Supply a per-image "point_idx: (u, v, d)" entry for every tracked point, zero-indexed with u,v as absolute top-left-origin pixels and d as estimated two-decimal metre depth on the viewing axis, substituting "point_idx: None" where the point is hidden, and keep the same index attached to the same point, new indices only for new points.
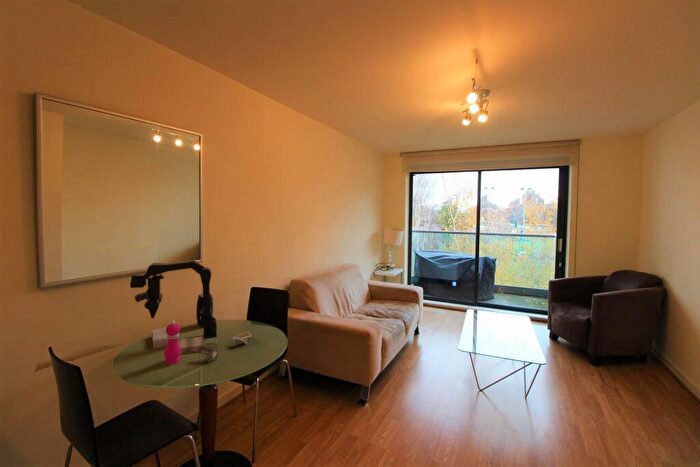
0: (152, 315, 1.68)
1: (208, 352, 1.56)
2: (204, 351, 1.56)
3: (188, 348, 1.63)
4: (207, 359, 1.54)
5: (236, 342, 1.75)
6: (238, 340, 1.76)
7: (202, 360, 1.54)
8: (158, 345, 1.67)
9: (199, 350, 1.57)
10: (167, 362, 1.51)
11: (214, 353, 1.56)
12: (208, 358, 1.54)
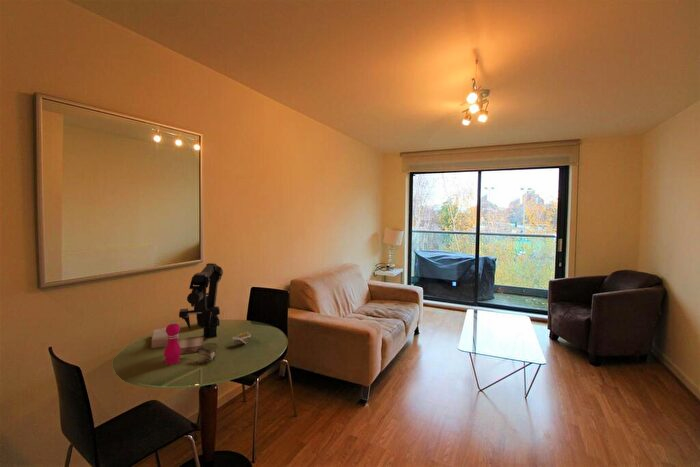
0: (188, 325, 1.63)
1: (206, 352, 1.56)
2: (202, 351, 1.56)
3: (188, 348, 1.63)
4: (205, 359, 1.54)
5: (236, 342, 1.75)
6: (237, 340, 1.76)
7: (200, 360, 1.53)
8: (156, 345, 1.67)
9: (197, 350, 1.57)
10: (167, 362, 1.51)
11: (212, 353, 1.55)
12: (206, 358, 1.54)
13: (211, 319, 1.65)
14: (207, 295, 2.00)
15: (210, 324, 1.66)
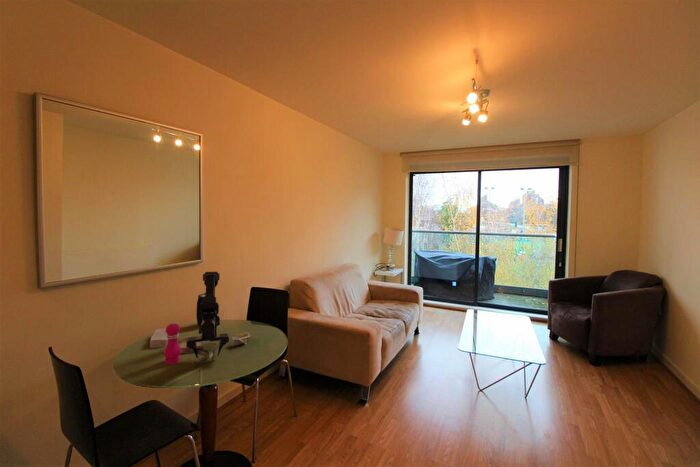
0: None
1: (205, 353, 1.55)
2: (201, 352, 1.55)
3: (188, 348, 1.63)
4: (204, 359, 1.53)
5: (235, 342, 1.75)
6: (237, 340, 1.76)
7: (198, 361, 1.53)
8: (154, 345, 1.67)
9: None
10: (167, 362, 1.51)
11: (211, 354, 1.54)
12: (205, 359, 1.53)
13: (220, 347, 1.57)
14: None
15: (219, 352, 1.58)
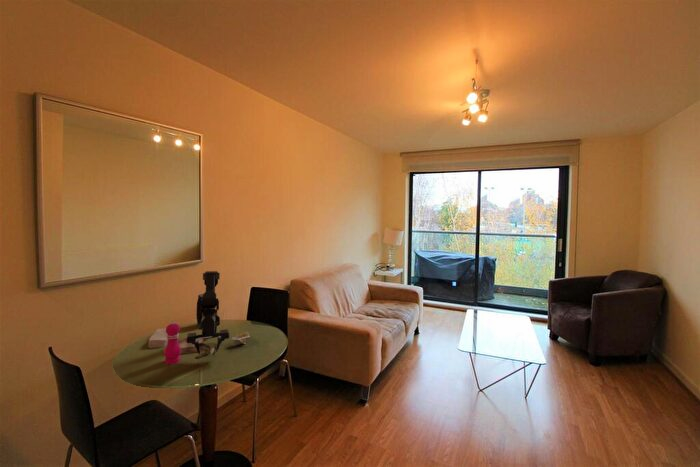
0: (197, 350, 1.54)
1: (206, 348, 1.55)
2: (202, 347, 1.55)
3: (188, 348, 1.63)
4: (205, 354, 1.53)
5: (235, 342, 1.75)
6: (237, 340, 1.75)
7: (200, 356, 1.53)
8: (153, 345, 1.67)
9: None
10: (167, 362, 1.51)
11: (212, 349, 1.55)
12: (206, 354, 1.54)
13: (219, 344, 1.56)
14: None
15: (217, 349, 1.57)
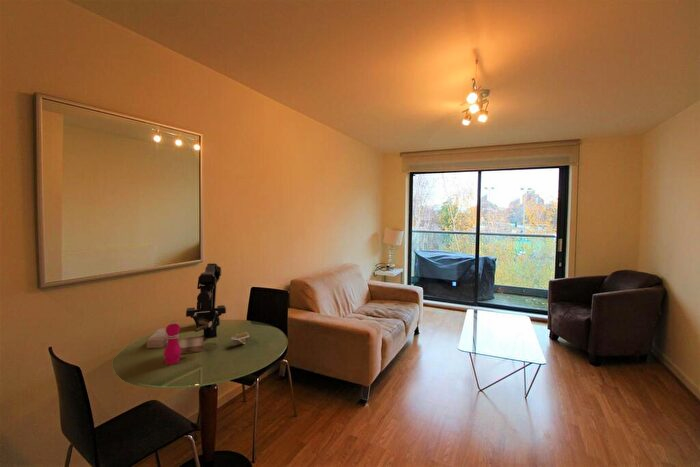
0: None
1: (204, 322, 1.66)
2: (201, 321, 1.66)
3: (188, 348, 1.63)
4: (203, 327, 1.64)
5: (234, 343, 1.74)
6: (236, 340, 1.75)
7: (198, 329, 1.64)
8: (151, 345, 1.67)
9: None
10: (167, 362, 1.51)
11: (210, 323, 1.66)
12: (204, 327, 1.65)
13: (216, 318, 1.67)
14: None
15: (215, 323, 1.68)
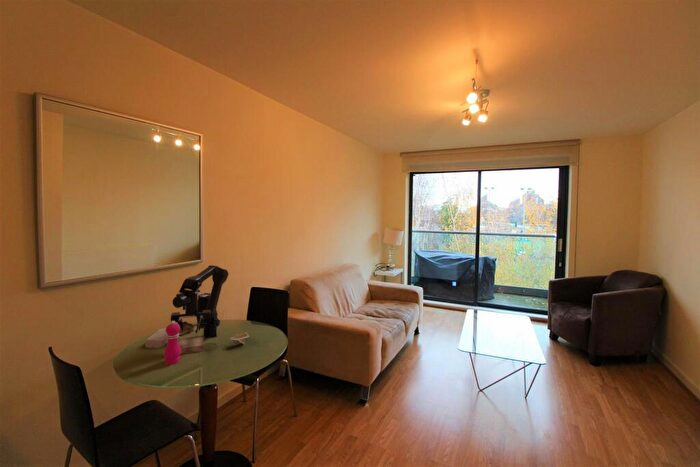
0: (181, 328, 1.67)
1: (189, 326, 1.67)
2: (186, 325, 1.68)
3: (188, 348, 1.63)
4: (188, 332, 1.65)
5: (234, 343, 1.74)
6: (236, 341, 1.75)
7: (183, 333, 1.65)
8: (149, 345, 1.67)
9: None
10: (167, 362, 1.51)
11: (195, 327, 1.67)
12: (189, 331, 1.66)
13: (201, 322, 1.68)
14: (207, 295, 2.00)
15: (200, 327, 1.69)
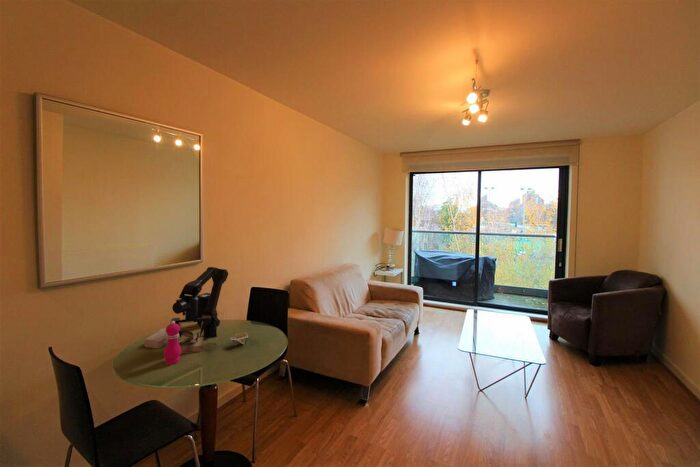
0: None
1: (189, 334, 1.68)
2: (186, 333, 1.68)
3: (188, 348, 1.63)
4: (188, 340, 1.66)
5: (233, 343, 1.74)
6: (235, 341, 1.75)
7: (183, 341, 1.65)
8: (148, 345, 1.67)
9: (181, 332, 1.69)
10: (167, 362, 1.51)
11: (195, 335, 1.67)
12: (189, 340, 1.66)
13: (202, 328, 1.69)
14: (207, 295, 2.00)
15: (201, 333, 1.70)
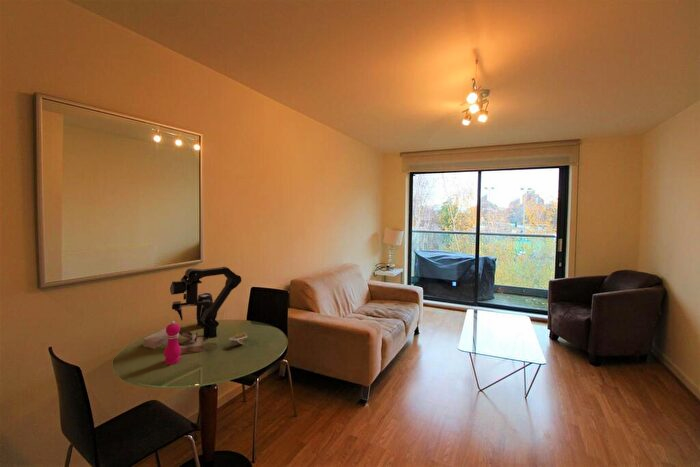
0: None
1: (188, 334, 1.68)
2: (185, 333, 1.68)
3: (188, 348, 1.63)
4: (187, 340, 1.66)
5: (232, 343, 1.74)
6: (234, 341, 1.74)
7: (182, 342, 1.65)
8: (146, 344, 1.67)
9: (180, 333, 1.69)
10: (167, 362, 1.51)
11: (194, 335, 1.67)
12: (188, 340, 1.66)
13: (202, 311, 1.77)
14: (207, 295, 2.00)
15: (201, 316, 1.78)
